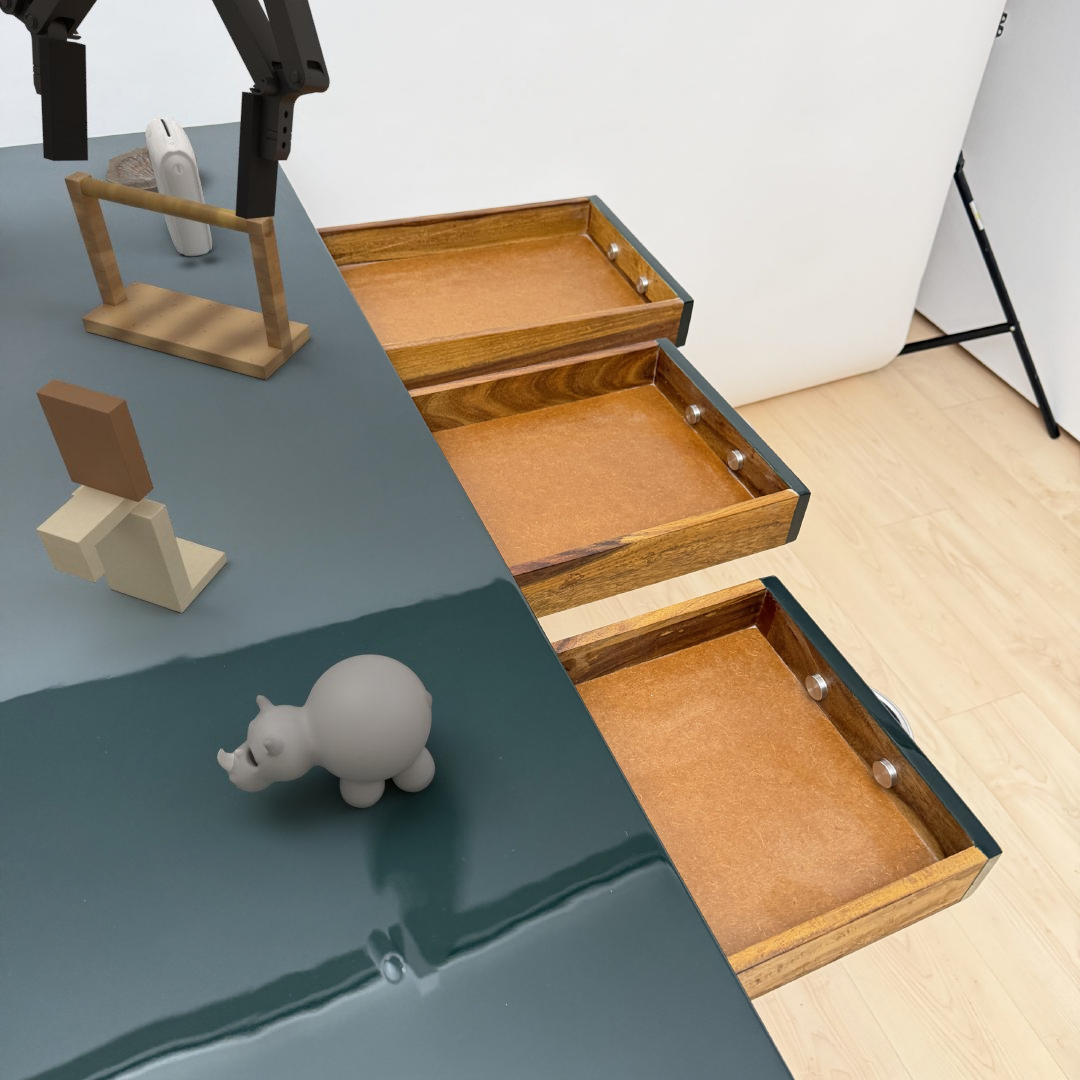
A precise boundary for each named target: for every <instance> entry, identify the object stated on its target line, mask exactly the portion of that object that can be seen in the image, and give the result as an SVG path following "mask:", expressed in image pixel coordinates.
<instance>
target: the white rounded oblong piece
mask: <svg viewBox="0 0 1080 1080" xmlns="http://www.w3.org/2000/svg"><path fill="white" fill-rule="evenodd" d="M144 135H145V137H144V138H145V141H146V146H147V147H148V150H149V154H150V159H151V163H152V167H153V171H154V175H155V179H156V183H157V187H158V191H159V194H164V195H168V196H172V197H177V198H181V199H186V200H190V201H194V202H199V203H203V204H206V201H205V198H204V193H203V187H202V183H201V178H200V173H199V169H198V162H197V163H196V158H197V157H196V158H195V155H196V154H195V155H194V153H195V152H194V149H193V145H192V144H191V143H192V142H191V141H190V139H189V136H188V135H187V133H186V132H185V130H184V129H183V127H182V126H181V125H180V124H179V123H178V122H177V121H176V120H174V119H173V118H170V117H167V116H164V117H162V118H161V117H154V118H153V119H151V120H150V121H149V122H148V124H147V125H146V129H145V133H144ZM163 217H164V220H165V224H166V227H167V231H168V233H169V236H170V238H171V241H172V243H173V245H174V248H175V250H176V251H177V253H178V254H180V255H184V256H185V257H197V256H203V255H206V254H208V253H209V252H210V251H211V250H213V239H212V233H211V228H210V225H209V224H205V223H201V222H196V221H192V220H188V219H184V218H179V217H175V216H171V215H166V214H163Z"/></svg>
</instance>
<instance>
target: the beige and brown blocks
mask: <svg viewBox="0 0 1080 1080" xmlns="http://www.w3.org/2000/svg"><path fill="white" fill-rule="evenodd" d="M35 394H36V396H37V399H38V402H39V404H40V406H41V409H42V411H43V413H44V417H45V418H46V422H47V423H48V426H49V428H50V429H49V430H50V431H51V433H52V436H53V438H54V441H55V444H56V446H57V448H58V451H59V454H60V456H61V458H62V461H63V463H64V466H65V468H66V471H67V473H68V476H69V479H70V481H71V482H72V483H75V484H78V485H80V486H79V487H78V488H76V489H75V490H74V491H73V492H72V493H71V498H70V499H69V500H68V501H66V503H64V504H63V505H62V506H61V507H60V508H59V509H57V510H56V511H55V512H54V513H53V514H51V515H50V516H49V517H48V518H47V519H45V521H43V522H42V523H41V524H40V525H39V526H38V527H37V528H36V531H37V534H38V536H39V538H40V540H41V542H42V544H43V548H45V551H46V553H47V555H48V557H49V560H50V562H51V564H52V566H53V569H55V570H56V571H59V572H62V573H64V574H67V575H71V576H73V577H76V578H79V579H82V580H86V581H88V582H92V583H94V584H95V583H96V582H98V581H99V579H100V578H102V576H104V578H105V580H106V582H107V584H108V587H109V589H110V590H113V591H116V592H118V593H122V594H124V595H127V596H131V597H133V598H137V599H139V600H143V601H145V602H148V603H151V604H154V605H157V606H160V607H163V608H165V609H168V610H172V611H174V612H178V613H180V614H182V613H184V612H185V611H186V610H187V608H188V607H189V606H190V605H191V604H192V603H193V602H194V600H195V599H196V598H197V597H198V596H199V595H200V593H202V591H203V590H204V589H205V588H206V587H207V586H208V584H210V582H211V581H212V580H213V579H214V577H216V575H217V574H218V573H219V571H220V570H221V569H222V568H223V567H225V565H226V564H227V563H228V559H227V555H226V553H225V552H224V551H221V550H218V549H215V548H212V547H209V546H206V545H203V544H199V543H197V542H193V541H190V540H187V539H183V538H180V537H177V536H176V534H175V531H174V528H173V525H172V522H171V518H170V515H169V512H168V509H167V506H166V504H164V503H161V502H158V501H154V500H151V499H148V498H146V497H147V495H148V494H150V492H151V491H153V490H154V484H153V481H152V478H151V474H150V472H149V468H148V465H147V462H146V460H145V457H144V456H145V455H144V453H143V450H142V447H141V444H140V441H139V438H138V435H137V431H136V429H135V424H134V423H133V419H132V415H131V413H130V412H131V411H130V409H129V407H128V404H127V399H125V398H121V397H118V396H114V395H111V394H108V393H104V392H100V391H98V390H93V389H91V388H86V387H83V386H79V385H76V384H73V383H69V382H65V381H62V380H59V379H56V378H53V379H52V380H50V381H49V382H48V383H46V384H45V385H44V386H42V387H41V388H39V389H38V390H36V392H35Z"/></svg>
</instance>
